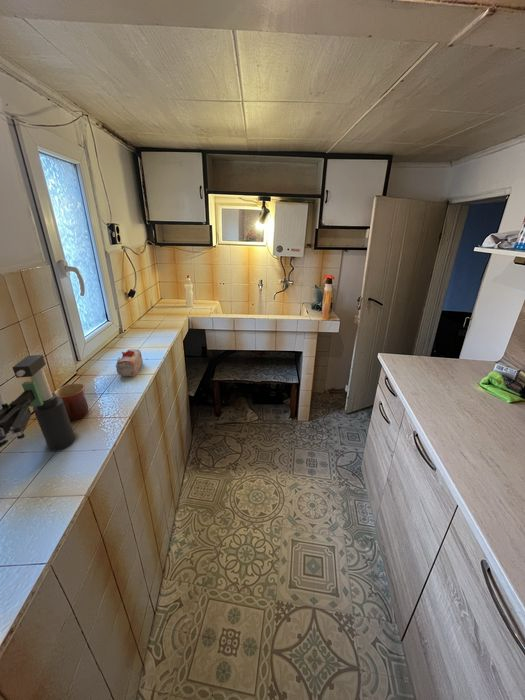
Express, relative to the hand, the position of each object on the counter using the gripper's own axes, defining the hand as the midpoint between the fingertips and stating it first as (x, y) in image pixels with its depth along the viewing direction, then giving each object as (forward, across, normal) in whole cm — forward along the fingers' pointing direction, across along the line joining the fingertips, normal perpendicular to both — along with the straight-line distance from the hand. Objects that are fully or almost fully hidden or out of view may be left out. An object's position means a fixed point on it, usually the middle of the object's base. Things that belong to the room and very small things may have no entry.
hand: (30, 394), depth 73 cm
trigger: (+1, 0, -4) cm, 4 cm away
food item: (+50, +11, -21) cm, 55 cm away
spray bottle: (+4, 0, -21) cm, 21 cm away
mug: (+21, -2, -21) cm, 29 cm away
